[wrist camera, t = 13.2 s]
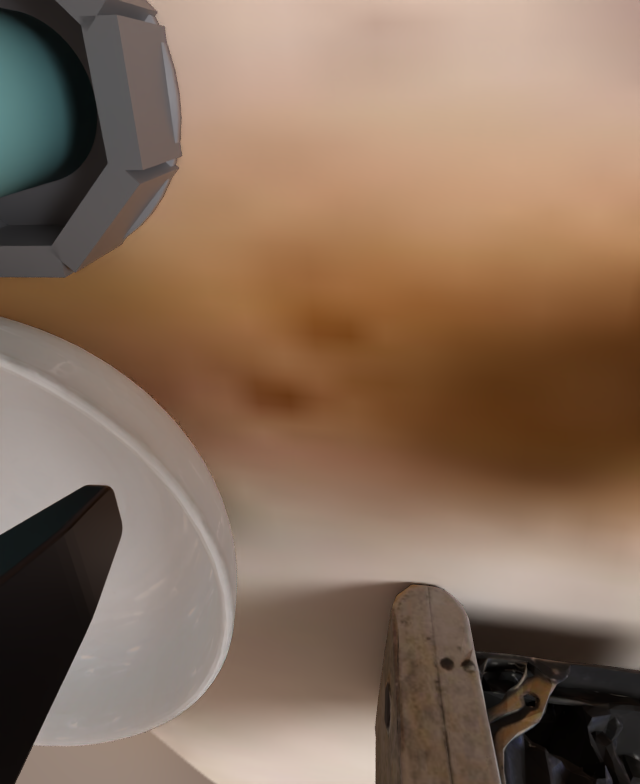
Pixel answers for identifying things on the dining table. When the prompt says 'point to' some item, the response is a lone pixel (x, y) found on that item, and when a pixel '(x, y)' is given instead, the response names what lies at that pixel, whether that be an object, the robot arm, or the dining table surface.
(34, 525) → the robot arm
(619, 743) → the vintage camera
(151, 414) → the serving bowl
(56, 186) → the socket ring
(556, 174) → the dining table surface
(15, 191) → the teal peg
